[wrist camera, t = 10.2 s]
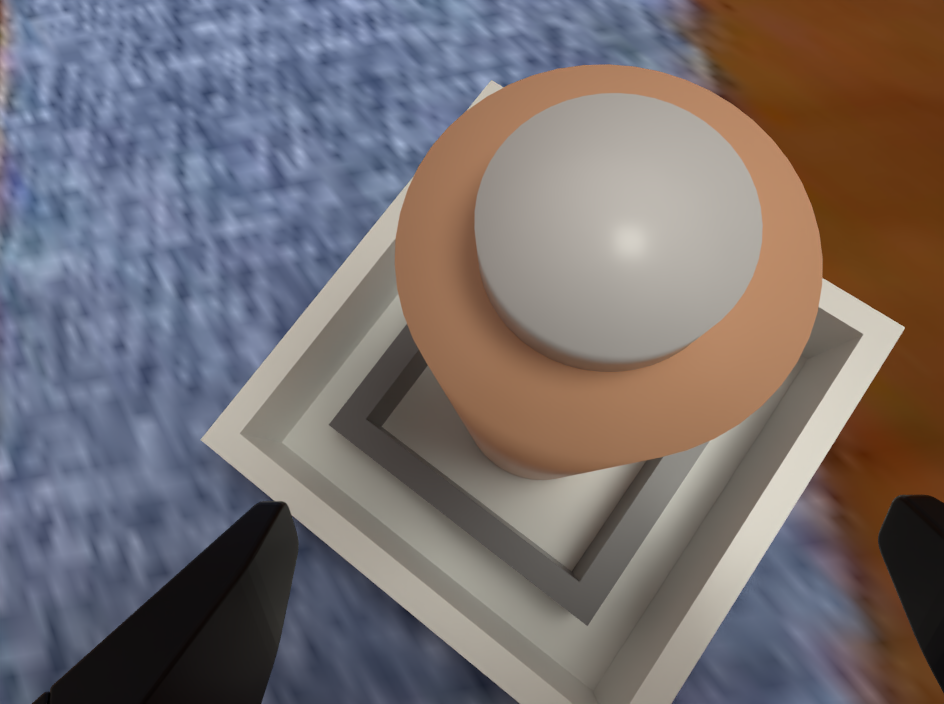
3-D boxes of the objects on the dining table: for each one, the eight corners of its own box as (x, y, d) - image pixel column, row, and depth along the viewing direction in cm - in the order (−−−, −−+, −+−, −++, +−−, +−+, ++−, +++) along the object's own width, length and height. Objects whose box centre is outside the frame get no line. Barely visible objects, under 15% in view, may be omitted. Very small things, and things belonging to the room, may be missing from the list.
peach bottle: (614, 485, 19) (880, 477, 6) (458, 474, 19) (355, 439, 6) (618, 333, 20) (847, 20, 7) (469, 325, 20) (405, 11, 7)
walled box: (596, 723, 18) (619, 786, 14) (258, 449, 21) (200, 439, 17) (829, 358, 20) (905, 327, 16) (494, 149, 23) (491, 80, 19)
